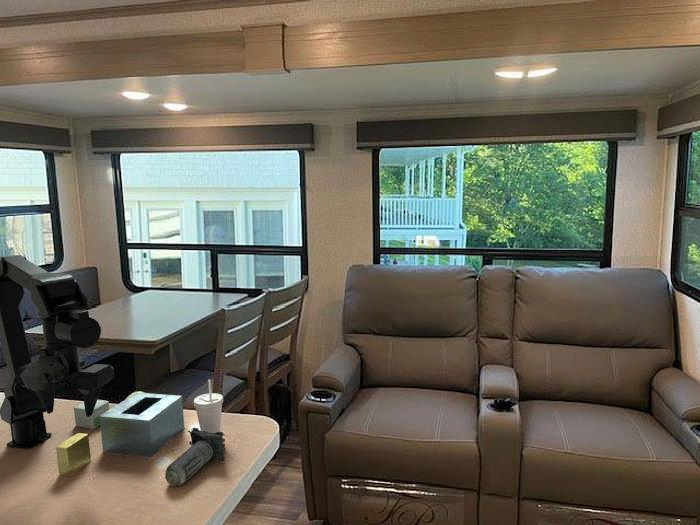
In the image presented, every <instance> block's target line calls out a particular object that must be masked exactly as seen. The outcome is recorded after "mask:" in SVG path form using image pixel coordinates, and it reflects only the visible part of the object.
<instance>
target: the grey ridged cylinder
mask: <svg viewBox="0 0 700 525" xmlns="http://www.w3.org/2000/svg"><path fill="white" fill-rule="evenodd" d="M190 430H191V431H190ZM186 433H189V436H190V439H191V441H189V445H190V447H189V448H188V449H187V450H186V451H184V452H183V453H182V454H181V455H180V456H178V457H177V458H176V459H175V460H174V461H173V462H171V463H170V464H169V465H168V466H167V467H166V470H165V475H164V478H165V481H166V482H167V483H168V484H169V485H170V486H171V487H178V486H182V485H184V484H185V483H186V482H187V481H188V480H189V479H191V477H193V476H194V475H195V473H197V472H198V471H199V470H200V469H201V468H202V467H203V466H204V465H205V464H207V463H208V462H209V461H215V462H219V463H224V462H225V459H226V455H225V454H226V453H227V451H226V443H225V442H226V440H225V439H226V438H223V437H224V436H225V435H226V434H225V433H224V432H223V431H220V432H216V433H208V432H205V431H203V432H201V430H200V428H197V427H192V428H191V429H188V430H187V431H186Z"/></svg>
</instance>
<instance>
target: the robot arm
mask: <svg viewBox="0 0 700 525" xmlns="http://www.w3.org/2000/svg"><path fill="white" fill-rule="evenodd" d="M25 289H26V290H27V291H29V292H30V300H31V302H33V304H34V306H36V308H37V309H38V312H37V315H38V316H39V317H41V325H42V334H43V342H44V346H43V347H40V348H39V351H38V352H39V354H38V355H39V357H38V359H36V360H32V357H31V351H30V348H29V343H28V338H27V335H26V331H25V326H24V322H23V319H22V318H23V317H22V314H21V310H20V305H21V303H22V300H23V298H24V295H25ZM89 309H90V307H89V304H88V298H87V297H86V295H85V293H84V292H83V290H82V289H81V287H80V285H79V283H78V281H77V280H76V279H75V278H74V276H72V275H70V274H67V273H65V272H64V273H63V272H50V271H47V270H45V269H43V267H40V266H38V265H37V264H36V263H33V262H32V261H30V260H28V259H27V257H26V256H25V255H22V254H16V255H7V256H1V257H0V341H1V342H0V343H1V346H2V349H3V353H4V358H5V362H6V367H7V372H8V379H7V381H6V384H5V386H4V389H3V393H4V394H3V395H4V399H3V401H2V404H1V405H0V419H1V420H2V421H3V422H4V423H6V424H9V426H10V434H11V440H10V441H9V442H7V443H6V447H11V448H19V449H21V448H22V449H31V448H33V447H35V446H37V445H38V444H40V443H41V442H43V441H44V440H45V441H46V439H48V438H50V437H52V432H47V425H46V420H45V417H44V413H47V414H48V415H49V414H51V413H53V412H54V407H55V393H56V392H55V391H56V390H55V389H56V387H55V386H56V383H57V382H59V381H60V380H61V379H69V380H70V379H71V380H77V384H78V386H80V387H78V388H77V390H78V392H80V393H81V394H82V399H83V403H84V407H85V412H86V416H87V417H89V416H91V415H92V413H93V410H94V408H95V405H96V402H97V400H99V397H100V394H101V392H102V390H103V388H104V386H105V384H108V383H109V382H110V381H112V379H113V380H114V378H116V377H115V369H114V367H113V366H112V365H111V364H100V363H99V364H98V363H94V364H92V365H90V366H88V367H87V368H85V369H82V368H81V367H83V366H85V365H86V364H85V361H86V360H84V359H80V350H79V348H81V349H87V348H90V347H93V346H94V345H95V344H96V343H97V342H98V341H99V339H100V337H101V334H102V327H101V324H100V323H99V322H98V320H96V319H95V318H93V317H90V314H89V313H90V312H89V311H88V310H89Z"/></svg>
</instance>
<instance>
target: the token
mask: <svg viewBox="0 0 700 525" xmlns="http://www.w3.org/2000/svg"><path fill="white" fill-rule="evenodd" d="M89 437H90V436H89V434H88V433H80V432H79V433H76V434H74V435H72V436H71V437H70V438H68V439H66V440H64V441H63V442H62V443H60V444H59V445H57V446H56V447H55V449H56V451H55V452H56V457H57V466H58V472H59V473H58V474H59V476H64V477H71V476H73V475H75V473H77V472H78V471H79V470H81V469H82V468H83V467H85V466H87V463H88V462H89V463H90V462H91V461H92V458H91V457H92V456H91V455H92V454H91V448H90V447H91V446H90V439H89ZM89 463H88V464H89ZM84 465H85V466H84ZM77 470H78V471H77ZM76 471H77V472H76Z"/></svg>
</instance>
